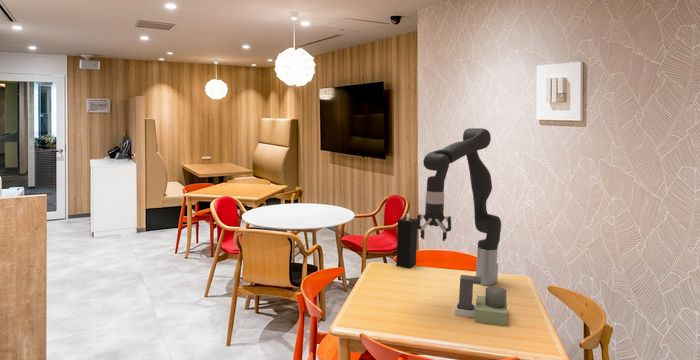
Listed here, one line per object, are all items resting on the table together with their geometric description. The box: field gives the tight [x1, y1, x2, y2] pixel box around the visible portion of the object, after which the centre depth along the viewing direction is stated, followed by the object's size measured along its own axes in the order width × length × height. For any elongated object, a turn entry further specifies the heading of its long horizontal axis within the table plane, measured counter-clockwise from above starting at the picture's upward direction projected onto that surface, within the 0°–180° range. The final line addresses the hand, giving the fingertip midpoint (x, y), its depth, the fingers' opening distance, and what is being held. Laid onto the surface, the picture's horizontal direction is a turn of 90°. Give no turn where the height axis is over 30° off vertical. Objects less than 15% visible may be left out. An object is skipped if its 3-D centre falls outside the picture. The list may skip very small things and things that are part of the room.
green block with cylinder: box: [453, 286, 508, 326], centre depth 207 cm, size 20×16×11 cm
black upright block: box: [396, 213, 418, 269], centre depth 268 cm, size 8×8×28 cm
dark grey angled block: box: [458, 274, 482, 311], centre depth 208 cm, size 8×5×15 cm, turn 74°
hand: (433, 239), depth 214 cm, fingers open, 8 cm apart
